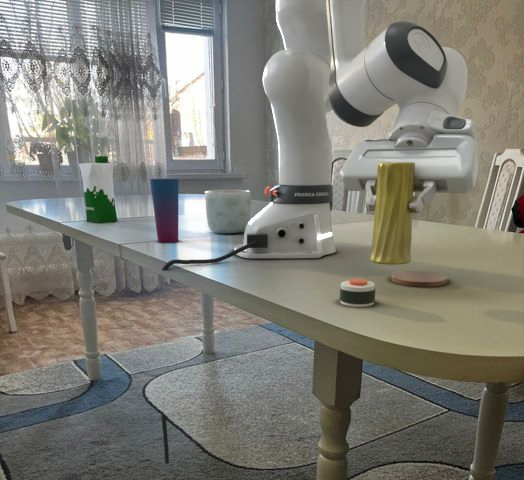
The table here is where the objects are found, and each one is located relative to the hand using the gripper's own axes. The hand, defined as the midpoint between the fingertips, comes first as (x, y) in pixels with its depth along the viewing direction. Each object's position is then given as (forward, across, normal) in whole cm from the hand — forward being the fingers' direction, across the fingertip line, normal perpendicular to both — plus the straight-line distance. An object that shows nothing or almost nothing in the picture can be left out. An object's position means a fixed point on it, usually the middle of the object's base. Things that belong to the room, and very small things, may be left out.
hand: (392, 209), depth 80 cm
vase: (+5, 0, +6) cm, 8 cm away
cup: (-7, -66, +24) cm, 70 cm away
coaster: (+1, +1, +17) cm, 17 cm away
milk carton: (-22, -114, +39) cm, 123 cm away
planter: (-22, -62, +39) cm, 77 cm away
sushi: (+14, -2, +3) cm, 15 cm away
